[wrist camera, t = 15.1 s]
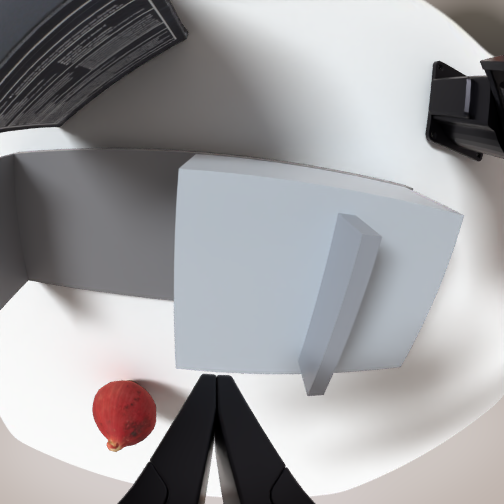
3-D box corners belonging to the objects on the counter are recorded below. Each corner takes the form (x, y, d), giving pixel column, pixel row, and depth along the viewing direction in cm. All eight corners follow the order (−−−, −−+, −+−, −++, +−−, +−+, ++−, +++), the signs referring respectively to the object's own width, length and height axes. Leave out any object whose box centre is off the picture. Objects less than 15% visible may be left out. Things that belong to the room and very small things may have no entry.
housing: (405, 185, 19) (458, 210, 13) (370, 304, 23) (402, 351, 17) (18, 152, 15) (-36, 168, 10) (30, 273, 19) (-8, 313, 14)
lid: (405, 187, 17) (494, 232, 10) (366, 313, 21) (416, 393, 14) (196, 153, 16) (165, 180, 8) (187, 304, 20) (170, 403, 12)
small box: (150, -25, 11) (98, -112, 2) (191, 38, 14) (153, -48, 4) (28, 65, 13) (-77, 56, 3) (58, 130, 15) (-57, 154, 6)
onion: (144, 358, 23) (125, 433, 16) (171, 397, 26) (162, 466, 18) (94, 365, 24) (68, 430, 16) (122, 402, 26) (107, 464, 19)
